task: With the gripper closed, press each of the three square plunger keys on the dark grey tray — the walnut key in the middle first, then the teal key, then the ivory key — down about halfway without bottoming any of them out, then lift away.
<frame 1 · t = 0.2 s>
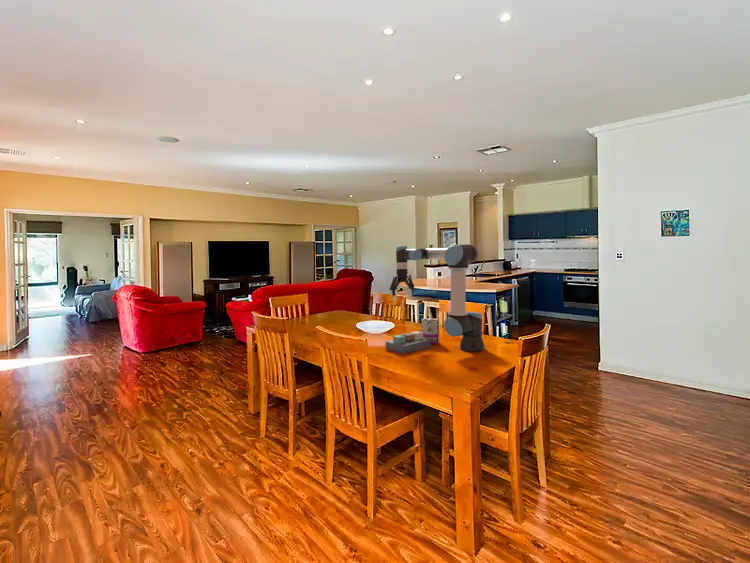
hand: (402, 299, 278), 28 cm above the table, fingers open, 13 cm apart
dark grey tray: (408, 348, 255), on the table
teal key: (399, 339, 250), point 7 cm above the table, slide at 0.0 cm
walnut key: (408, 337, 255), point 7 cm above the table, slide at 0.0 cm
ivory key: (416, 335, 259), point 7 cm above the table, slide at 0.0 cm
candy bar box: (430, 343, 266), on the table
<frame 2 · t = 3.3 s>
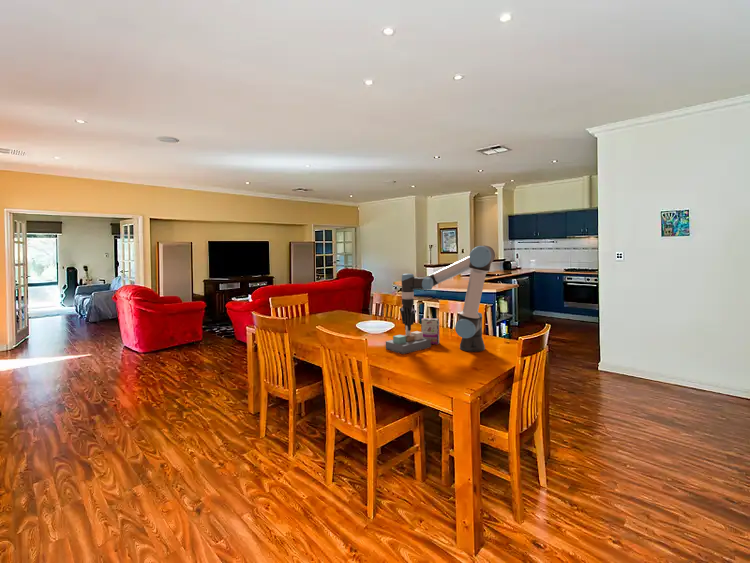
hand: (408, 335, 255), 8 cm above the table, fingers closed
walnut key: (408, 339, 255), point 6 cm above the table, slide at 1.0 cm, touching gripper
everything else where it was.
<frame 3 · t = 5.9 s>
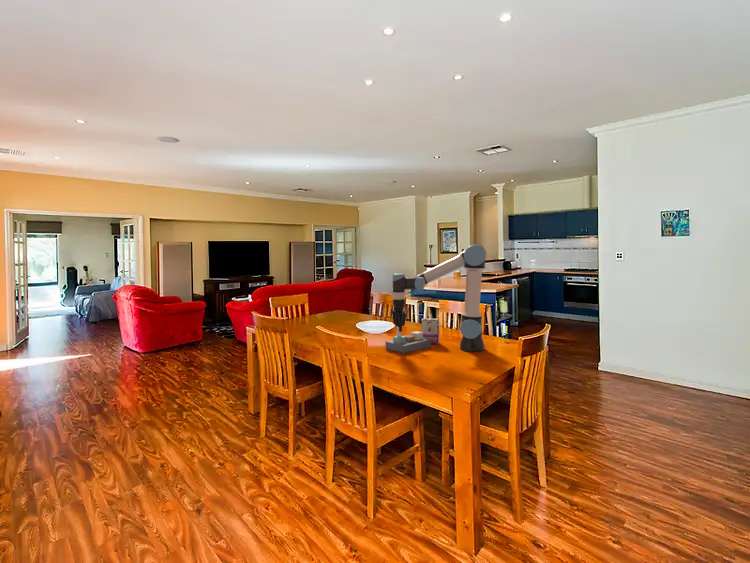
hand: (399, 336, 250), 9 cm above the table, fingers closed
teal key: (399, 340, 250), point 6 cm above the table, slide at 0.5 cm, touching gripper
walnut key: (408, 339, 255), point 5 cm above the table, slide at 1.3 cm
everything else where it was.
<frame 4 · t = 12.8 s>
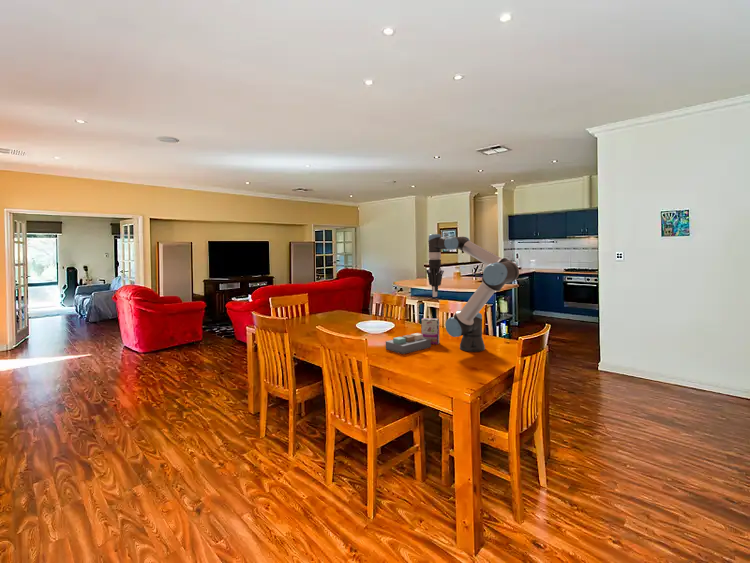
hand: (435, 296, 253), 32 cm above the table, fingers closed
teal key: (399, 341, 250), point 5 cm above the table, slide at 1.3 cm
ivory key: (416, 337, 260), point 5 cm above the table, slide at 1.3 cm
everything else where it was.
at the end: walnut key slide at 1.3 cm; teal key slide at 1.3 cm; ivory key slide at 1.3 cm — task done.
